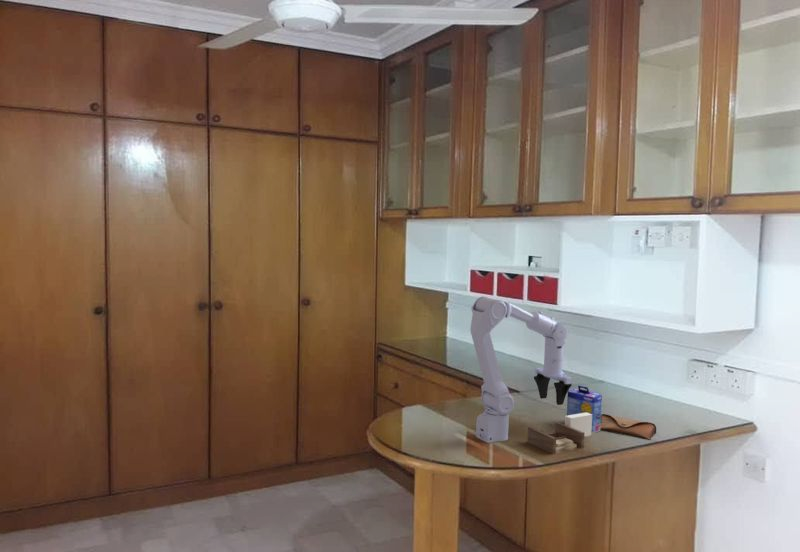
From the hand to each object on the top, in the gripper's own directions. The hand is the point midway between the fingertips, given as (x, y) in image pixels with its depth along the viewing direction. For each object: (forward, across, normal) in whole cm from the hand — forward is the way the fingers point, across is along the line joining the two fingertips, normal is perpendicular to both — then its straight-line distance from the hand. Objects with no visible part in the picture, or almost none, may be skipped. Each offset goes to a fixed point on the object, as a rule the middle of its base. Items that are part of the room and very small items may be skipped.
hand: (551, 401), depth 202 cm
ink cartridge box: (+11, -1, -13) cm, 17 cm away
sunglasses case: (+11, -9, -24) cm, 28 cm away
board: (+10, -8, -4) cm, 13 cm away
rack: (+10, -11, +8) cm, 17 cm away
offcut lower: (+9, -14, +8) cm, 19 cm away
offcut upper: (+8, -14, +8) cm, 18 cm away
